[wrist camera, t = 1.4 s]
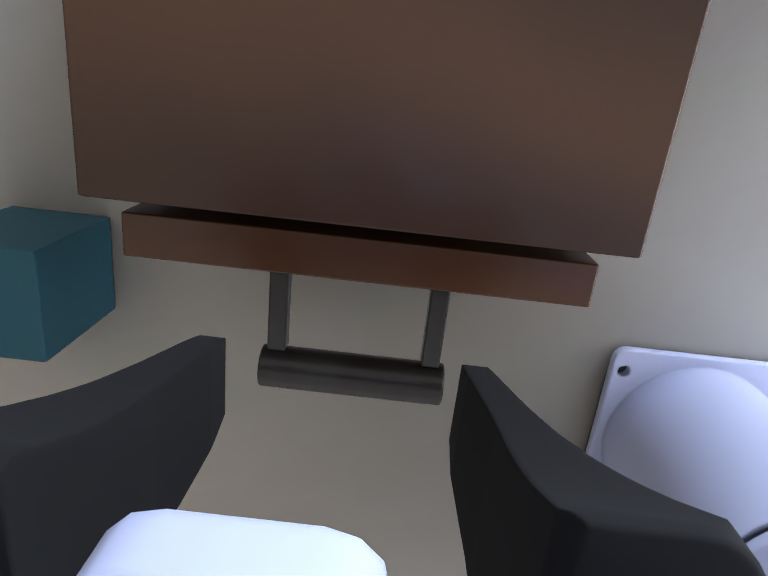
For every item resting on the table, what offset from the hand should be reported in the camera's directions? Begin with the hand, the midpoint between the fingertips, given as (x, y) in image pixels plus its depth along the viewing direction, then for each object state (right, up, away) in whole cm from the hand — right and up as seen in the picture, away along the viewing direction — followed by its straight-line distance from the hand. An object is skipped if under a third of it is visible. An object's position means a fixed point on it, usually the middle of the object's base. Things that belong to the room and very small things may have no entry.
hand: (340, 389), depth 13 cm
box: (-12, +4, +10) cm, 16 cm away
